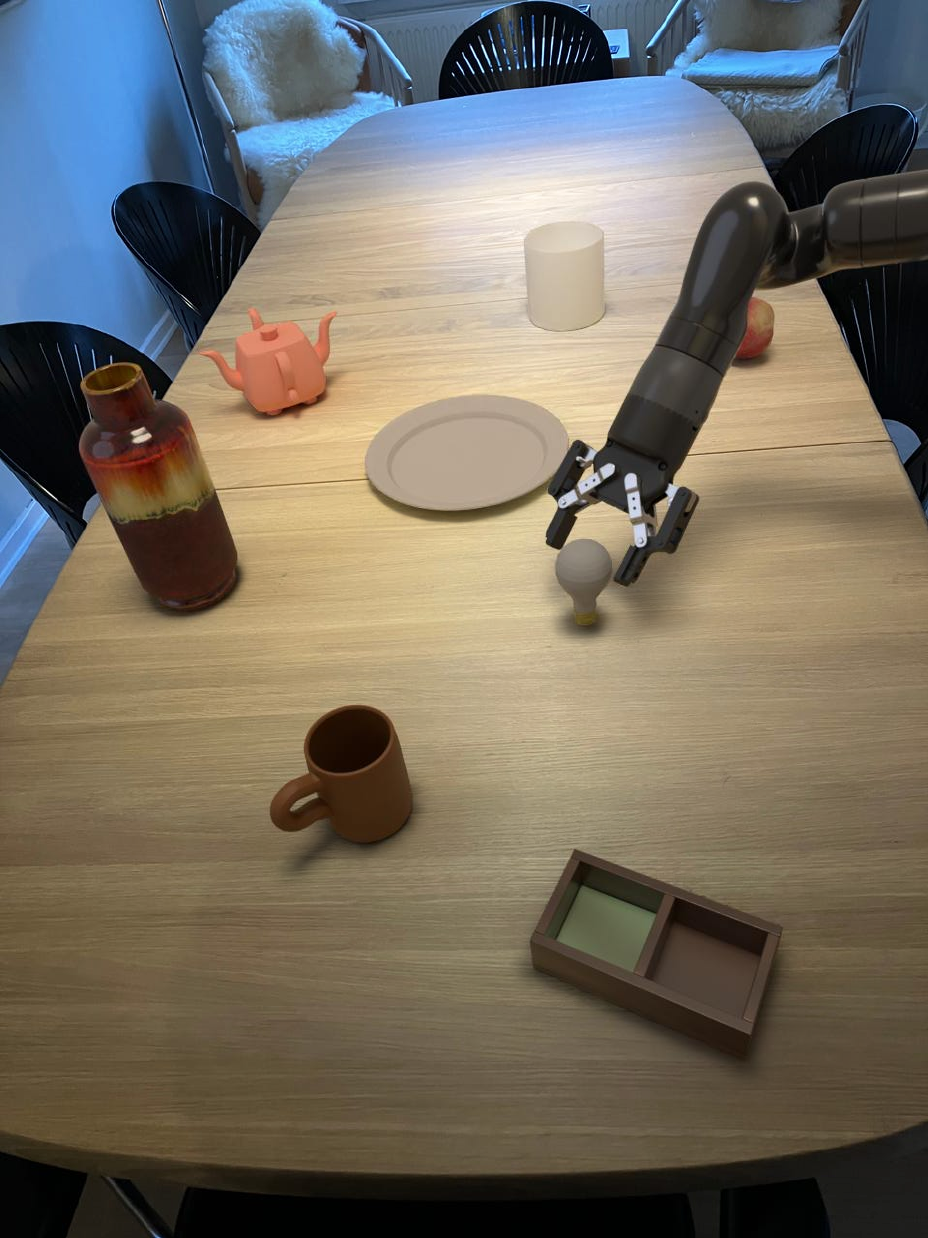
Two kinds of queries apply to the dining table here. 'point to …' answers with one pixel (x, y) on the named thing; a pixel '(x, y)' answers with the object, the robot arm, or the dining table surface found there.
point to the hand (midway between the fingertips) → (585, 565)
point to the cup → (565, 275)
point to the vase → (156, 490)
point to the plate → (466, 452)
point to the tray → (657, 951)
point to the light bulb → (584, 575)
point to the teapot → (277, 364)
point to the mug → (349, 777)
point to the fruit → (757, 329)
